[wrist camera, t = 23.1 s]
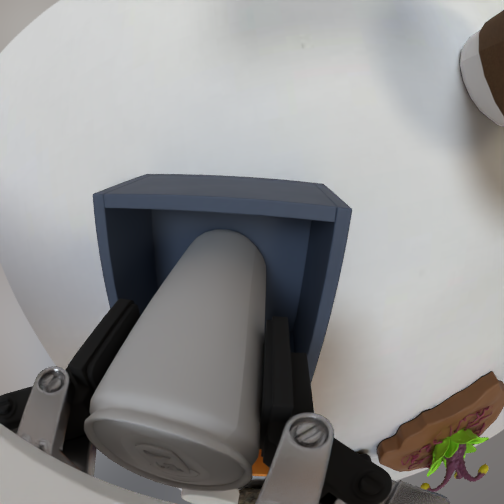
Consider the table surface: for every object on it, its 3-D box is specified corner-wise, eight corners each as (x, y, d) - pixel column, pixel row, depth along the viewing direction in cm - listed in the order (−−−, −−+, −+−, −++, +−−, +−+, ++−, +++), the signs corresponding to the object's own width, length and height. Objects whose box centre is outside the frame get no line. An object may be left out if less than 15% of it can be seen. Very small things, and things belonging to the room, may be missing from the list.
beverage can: (195, 302, 17) (129, 478, 6) (177, 231, 16) (46, 396, 5) (271, 296, 17) (267, 495, 6) (260, 220, 15) (238, 427, 4)
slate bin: (157, 318, 19) (128, 372, 14) (145, 174, 15) (92, 194, 10) (300, 333, 19) (307, 395, 13) (324, 183, 15) (352, 208, 9)
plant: (501, 406, 24) (523, 452, 14) (405, 466, 30) (416, 516, 20) (500, 352, 19) (543, 419, 9) (361, 442, 25) (374, 519, 15)
